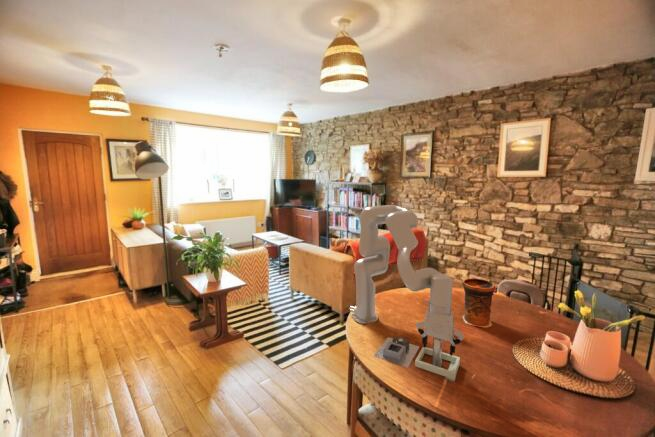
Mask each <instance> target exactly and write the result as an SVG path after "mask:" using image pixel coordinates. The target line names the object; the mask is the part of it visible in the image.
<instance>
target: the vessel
mask: <svg viewBox="0 0 655 437" xmlns="http://www.w3.org/2000/svg"><path fill="white" fill-rule="evenodd" d="M461 283H462V286H463V291H464V314H462V315H461V318H462V319H463V322H464V323H465V324H468V325H469V326H470V325H471V326H475V327H479V328H483V329H484V328H485V329H486V328H490V327H492V326H493V324H492V322H491V321H490V318H491V311H492V309H491V307H492V302H493V300H492V299H493V296H494V292H495V291H496V285H495V284H494V283H493V282H490V281H489V280H488V279H487V280H486V279H483V278H476V277H475V278H474V277H473V278H465V279H463V281H462V282H461Z"/></svg>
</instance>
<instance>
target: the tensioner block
mask: <svg viewBox="0 0 655 437" xmlns="http://www.w3.org/2000/svg"><path fill="white" fill-rule="evenodd" d="M419 350H420V345H417V344H416V345H415V344H412V343H410V341H409V339H407V338H406V337H404V336H403V337H402V336H396V337H394V338H393V337H389V336H388V337H387V338H386V340H384V342H383V343H382V344H381V345H380V347H379V348H378V349H377V350H376V351H375V353H374V354H373V357H375V358H378V359H381V360H383V361H387V362H388V363H389V362H390V363H392V364H396V365H397V366H401V367H403V368H407V369H408V368H409V366H410V364H411V363H412V361H413V360H414V358H415V356H416V354H417V352H418V351H419Z"/></svg>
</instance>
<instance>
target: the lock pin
mask: <svg viewBox="0 0 655 437" xmlns="http://www.w3.org/2000/svg"><path fill="white" fill-rule="evenodd" d="M432 338H433V339H432V349H433V356H432V365H435V366H438V367H441V368H442V364H443V363H442V362H443V361H442V360H443V359H442V352H443V340H441V339H438V338H434V337H432Z"/></svg>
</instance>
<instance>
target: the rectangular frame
mask: <svg viewBox="0 0 655 437" xmlns="http://www.w3.org/2000/svg"><path fill="white" fill-rule="evenodd" d="M425 354H426V355H430V356H432V357H433V348H431V347H427V346H426V347H425V348H424V347H423V346H422V347H421V350H420V351H419V352H418V355H417V357H416V358H415V361H414V366H415V367H416V368H419V369H422V370H425V371H428V372H431V373H434V374H436V375H440V376H443V377H444V379H445V380H447V381H450V382H453V383H454V382H455V380H456V377H457V375H458V371H459V368H460V366H461V364H460V362H461V357H460V356H456V355H454V354H452V356H451V355H450V353H448V352H444V351H442V360H445V361H448V362H450V363H449V366H448V369H446V368H443V367H442V366H441V367H438V366H435V365H433V363H432V364H431V363H428V362H425V361H423V358H424V355H425Z"/></svg>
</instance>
